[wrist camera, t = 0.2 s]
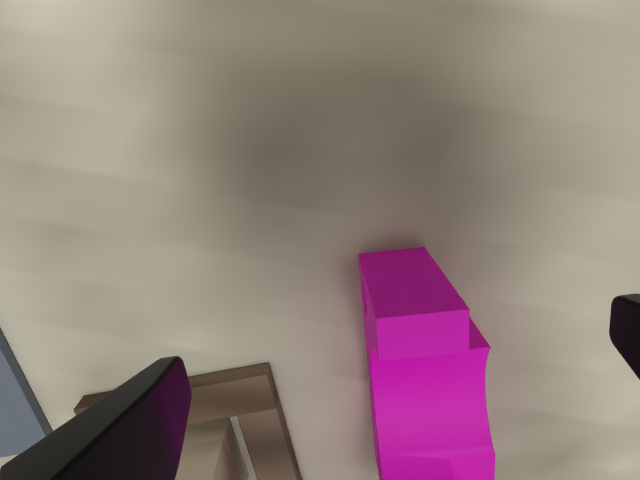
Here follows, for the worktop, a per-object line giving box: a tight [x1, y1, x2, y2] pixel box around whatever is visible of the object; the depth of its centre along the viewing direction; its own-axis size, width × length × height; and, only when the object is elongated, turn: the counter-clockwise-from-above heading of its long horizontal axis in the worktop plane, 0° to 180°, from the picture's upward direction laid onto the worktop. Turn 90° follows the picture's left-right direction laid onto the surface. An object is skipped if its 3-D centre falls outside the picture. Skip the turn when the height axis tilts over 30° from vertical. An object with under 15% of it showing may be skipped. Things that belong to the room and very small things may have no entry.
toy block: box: [358, 247, 495, 480], centre depth 23 cm, size 15×6×8 cm, turn 6°
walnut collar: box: [74, 363, 302, 480], centre depth 28 cm, size 12×12×1 cm
